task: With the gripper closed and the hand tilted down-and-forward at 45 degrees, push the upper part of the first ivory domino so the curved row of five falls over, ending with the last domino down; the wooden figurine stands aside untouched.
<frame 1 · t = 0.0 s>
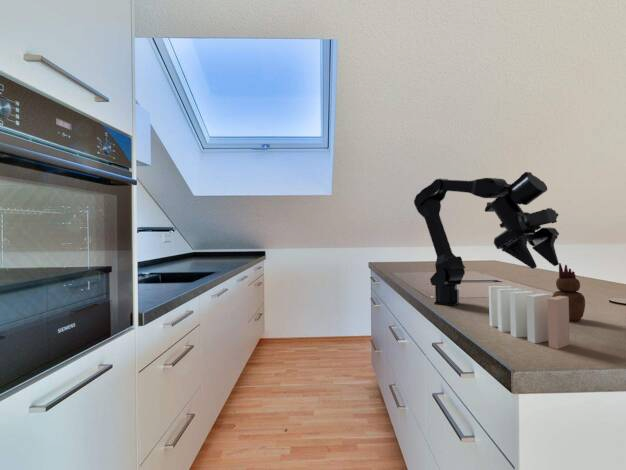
hand: (546, 266, 80), 15 cm above the worktop, tool tilted 35°, fingers open, 9 cm apart
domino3: (523, 335, 74), on the worktop
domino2: (510, 330, 78), on the worktop
domino4: (539, 340, 70), on the worktop
wooden figurine: (568, 320, 86), on the worktop
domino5: (559, 345, 67), on the worktop
domino1: (501, 326, 82), on the worktop
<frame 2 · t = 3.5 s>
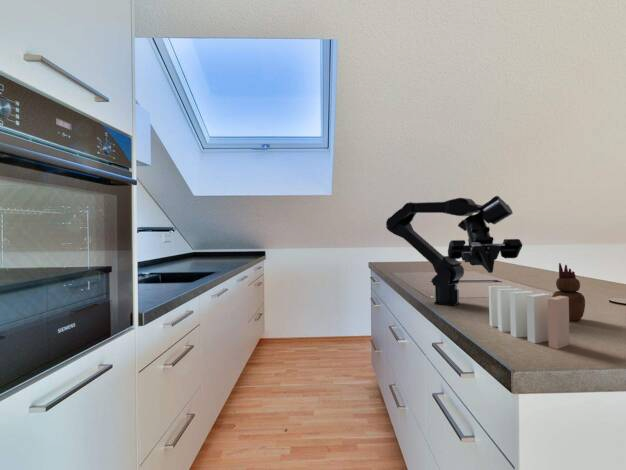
hand: (491, 271, 88), 13 cm above the worktop, tool tilted 45°, fingers closed
nothing on the worktop moved.
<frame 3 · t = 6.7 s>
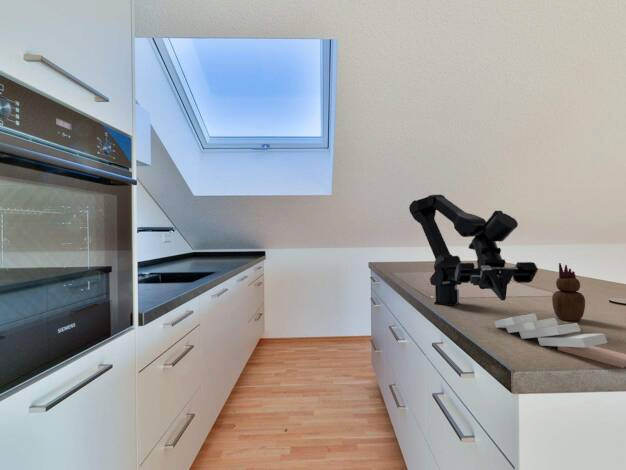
hand: (503, 299, 80), 7 cm above the worktop, tool tilted 45°, fingers closed
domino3: (529, 333, 73), point 1 cm above the worktop, tilted 68°, touching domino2, domino4
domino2: (516, 327, 76), point 1 cm above the worktop, tilted 68°, touching domino1, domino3
domino4: (548, 339, 68), point 1 cm above the worktop, tilted 73°, touching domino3, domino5
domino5: (564, 346, 66), on the worktop, tilted 90°, touching domino4
domino1: (505, 322, 81), point 1 cm above the worktop, tilted 70°, touching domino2
everything else where it was.
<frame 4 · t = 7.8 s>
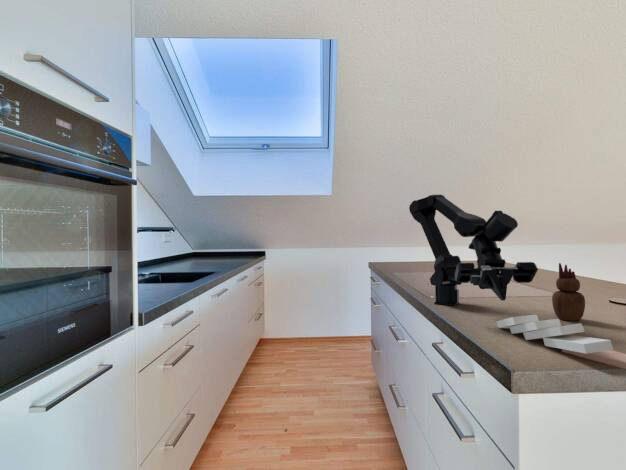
hand: (503, 299, 80), 7 cm above the worktop, tool tilted 45°, fingers closed
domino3: (534, 334, 72), point 1 cm above the worktop, tilted 66°, touching domino4
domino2: (521, 329, 76), point 1 cm above the worktop, tilted 67°
domino4: (555, 340, 67), point 1 cm above the worktop, tilted 78°, touching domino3
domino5: (568, 347, 65), on the worktop, tilted 90°
domino1: (508, 323, 80), point 1 cm above the worktop, tilted 69°
everything else where it was.
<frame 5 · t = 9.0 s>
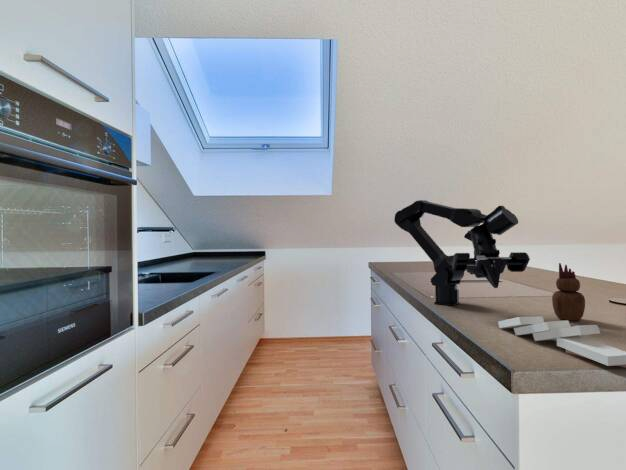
hand: (496, 287, 85), 9 cm above the worktop, tool tilted 45°, fingers closed
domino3: (542, 336, 70), point 1 cm above the worktop, tilted 66°, touching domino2, domino4
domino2: (524, 331, 75), point 1 cm above the worktop, tilted 66°, touching domino1, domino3
domino4: (568, 340, 65), point 2 cm above the worktop, tilted 90°, touching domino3, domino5
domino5: (571, 348, 65), on the worktop, tilted 90°, touching domino4
domino1: (509, 324, 80), point 1 cm above the worktop, tilted 69°, touching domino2
everything else where it was.
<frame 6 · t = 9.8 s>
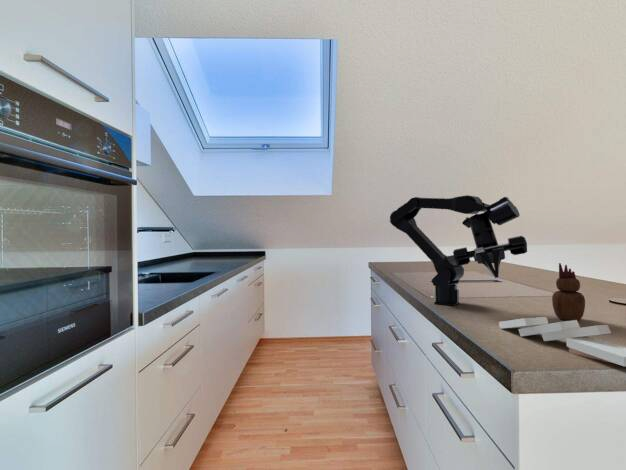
hand: (496, 277, 89), 11 cm above the worktop, tool tilted 35°, fingers closed
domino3: (548, 336, 70), point 1 cm above the worktop, tilted 68°, touching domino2
domino4: (576, 341, 64), point 2 cm above the worktop, tilted 90°, touching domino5
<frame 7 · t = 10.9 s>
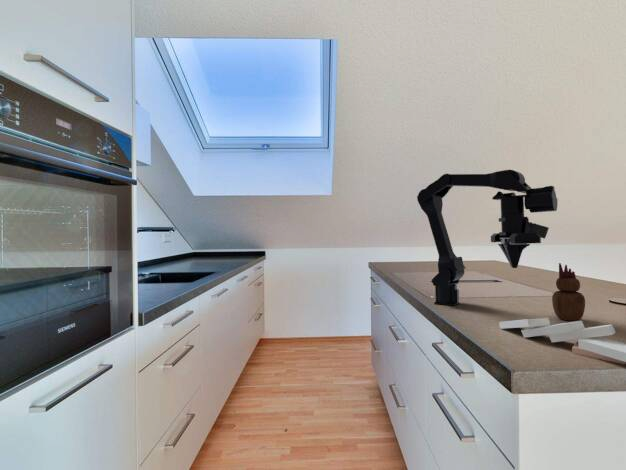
hand: (514, 267, 93), 13 cm above the worktop, tool pointing down, fingers closed
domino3: (552, 337, 69), point 1 cm above the worktop, tilted 70°, touching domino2, domino4
domino4: (587, 342, 63), point 2 cm above the worktop, tilted 90°, touching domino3, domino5
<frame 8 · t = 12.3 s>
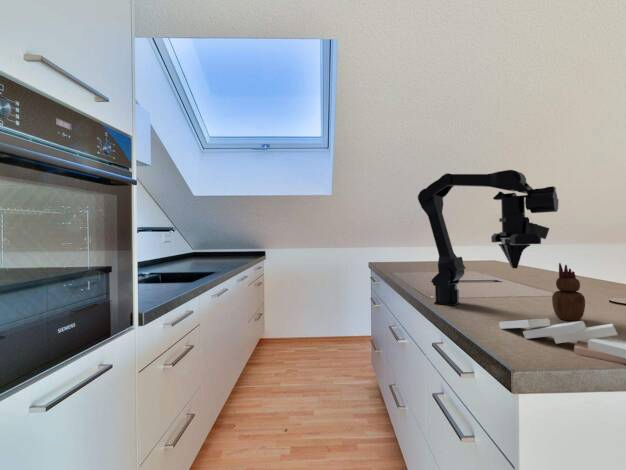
hand: (514, 268, 93), 13 cm above the worktop, tool pointing down, fingers closed
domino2: (529, 333, 73), point 1 cm above the worktop, tilted 68°, touching domino1, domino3
domino4: (594, 342, 63), point 2 cm above the worktop, tilted 90°, touching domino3
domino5: (576, 347, 65), on the worktop, tilted 90°
at the end: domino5 tilted 90°; domino1 tilted 72° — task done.
